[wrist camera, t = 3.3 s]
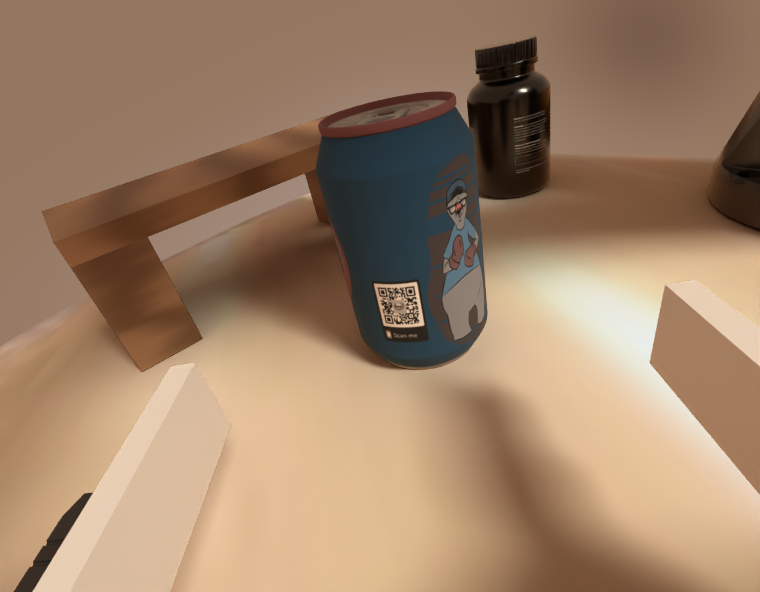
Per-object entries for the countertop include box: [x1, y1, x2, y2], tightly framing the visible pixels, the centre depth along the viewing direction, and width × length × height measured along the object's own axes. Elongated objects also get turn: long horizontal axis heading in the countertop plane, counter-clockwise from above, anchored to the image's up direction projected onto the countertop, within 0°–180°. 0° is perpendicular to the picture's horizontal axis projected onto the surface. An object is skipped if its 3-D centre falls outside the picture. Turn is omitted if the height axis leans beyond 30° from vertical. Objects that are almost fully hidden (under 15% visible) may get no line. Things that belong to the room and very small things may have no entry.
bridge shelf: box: [42, 116, 330, 372], centre depth 33 cm, size 24×10×9 cm, turn 131°
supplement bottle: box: [467, 36, 550, 198], centre depth 36 cm, size 7×7×12 cm
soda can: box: [316, 92, 487, 370], centre depth 20 cm, size 7×7×12 cm
